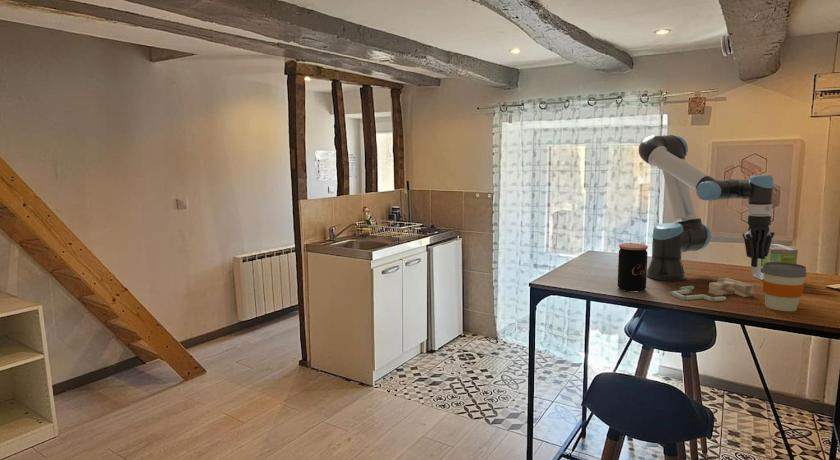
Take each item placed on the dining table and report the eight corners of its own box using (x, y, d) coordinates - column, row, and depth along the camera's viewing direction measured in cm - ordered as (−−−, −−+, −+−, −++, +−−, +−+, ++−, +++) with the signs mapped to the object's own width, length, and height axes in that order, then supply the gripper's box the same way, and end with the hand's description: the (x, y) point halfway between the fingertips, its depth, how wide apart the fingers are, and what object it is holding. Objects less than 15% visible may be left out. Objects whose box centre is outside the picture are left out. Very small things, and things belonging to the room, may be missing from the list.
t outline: (692, 288, 205) (692, 285, 204) (725, 300, 188) (726, 297, 188) (661, 291, 202) (661, 288, 201) (693, 303, 185) (693, 300, 185)
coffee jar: (633, 294, 199) (635, 248, 196) (611, 288, 208) (613, 244, 206) (651, 290, 204) (653, 246, 201) (629, 284, 213) (631, 242, 210)
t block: (725, 287, 206) (726, 277, 205) (752, 295, 193) (753, 285, 193) (700, 289, 203) (700, 279, 203) (726, 298, 191) (726, 288, 190)
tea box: (795, 285, 207) (798, 249, 204) (768, 284, 209) (770, 249, 206) (777, 276, 221) (780, 243, 219) (752, 275, 223) (754, 242, 221)
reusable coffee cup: (764, 311, 175) (768, 268, 173) (755, 301, 186) (758, 261, 184) (808, 314, 170) (812, 270, 168) (796, 303, 182) (800, 262, 180)
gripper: (753, 216, 191) (750, 278, 195) (782, 215, 194) (778, 275, 197) (737, 215, 199) (734, 274, 202) (765, 213, 201) (761, 271, 205)
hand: (756, 274), depth 200 cm, fingers closed
